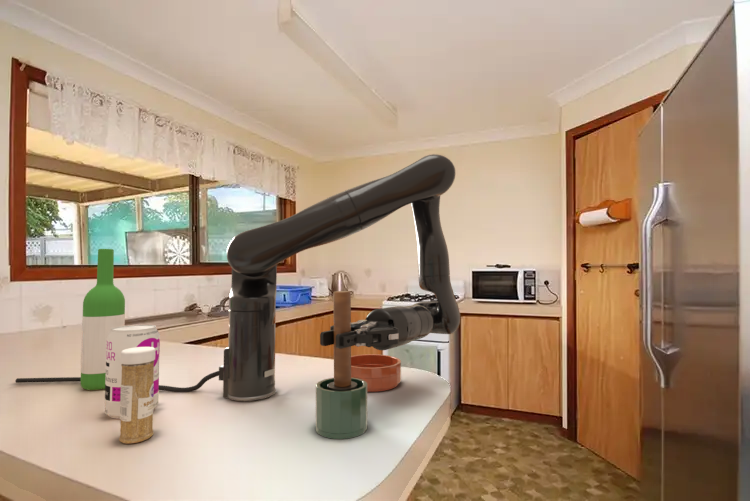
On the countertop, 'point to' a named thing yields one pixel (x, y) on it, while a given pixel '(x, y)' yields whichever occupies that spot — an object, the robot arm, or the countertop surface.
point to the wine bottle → (100, 322)
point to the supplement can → (115, 345)
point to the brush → (342, 355)
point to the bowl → (376, 371)
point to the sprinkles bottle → (137, 394)
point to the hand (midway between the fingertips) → (329, 340)
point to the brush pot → (341, 410)
